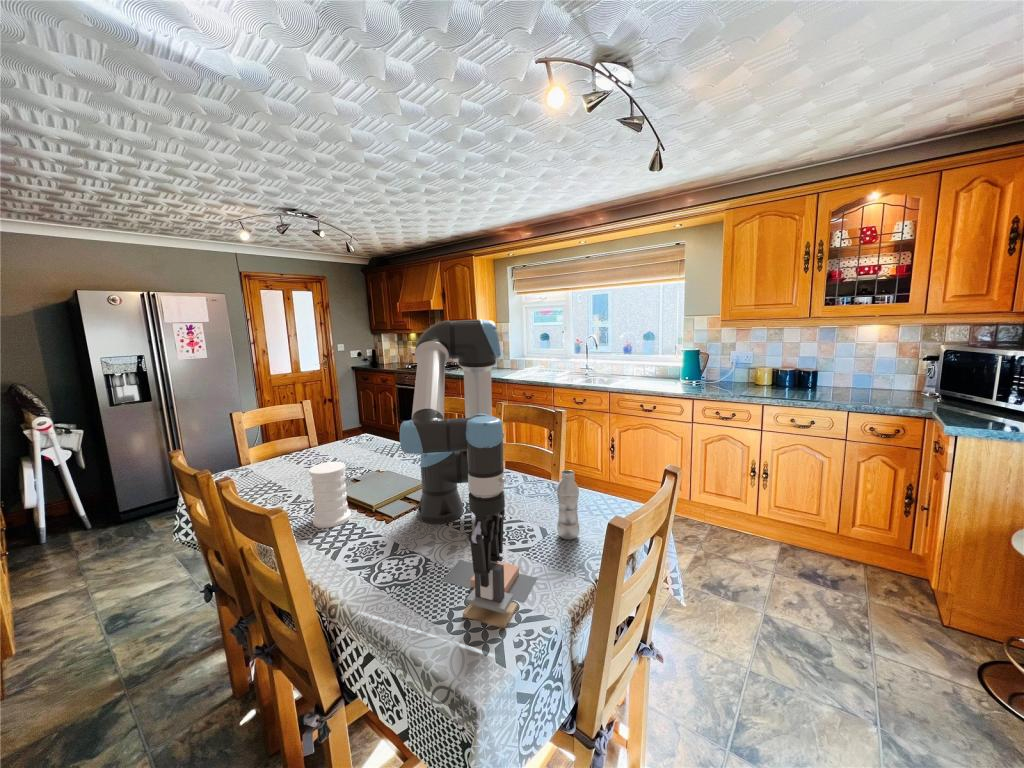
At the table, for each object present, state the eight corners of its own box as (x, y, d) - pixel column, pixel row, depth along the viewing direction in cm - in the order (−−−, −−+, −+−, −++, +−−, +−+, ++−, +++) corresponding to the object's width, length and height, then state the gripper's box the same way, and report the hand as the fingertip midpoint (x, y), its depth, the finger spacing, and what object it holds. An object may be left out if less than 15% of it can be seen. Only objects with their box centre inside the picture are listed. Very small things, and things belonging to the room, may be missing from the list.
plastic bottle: (574, 544, 115) (574, 478, 112) (553, 538, 118) (552, 473, 115) (583, 534, 120) (583, 470, 117) (562, 529, 124) (562, 466, 120)
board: (462, 618, 87) (462, 613, 87) (477, 597, 93) (477, 593, 93) (505, 630, 83) (505, 625, 83) (517, 608, 90) (517, 603, 89)
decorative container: (338, 508, 141) (334, 459, 138) (358, 516, 134) (353, 465, 132) (306, 521, 132) (300, 469, 129) (325, 531, 125) (319, 476, 122)
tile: (470, 579, 96) (504, 588, 92) (486, 558, 104) (519, 566, 101) (470, 587, 96) (505, 596, 93) (487, 566, 104) (519, 574, 101)
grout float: (466, 603, 87) (464, 567, 86) (477, 589, 92) (475, 554, 90) (504, 613, 84) (503, 576, 82) (513, 598, 88) (512, 563, 87)
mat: (441, 582, 99) (440, 580, 99) (460, 561, 108) (460, 559, 108) (524, 604, 91) (524, 602, 91) (537, 579, 99) (537, 577, 99)
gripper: (486, 509, 76) (490, 621, 79) (516, 479, 90) (518, 576, 93) (452, 503, 78) (457, 612, 82) (486, 475, 92) (489, 569, 96)
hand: (489, 593), depth 87 cm, fingers closed on grout float, 2 cm apart
